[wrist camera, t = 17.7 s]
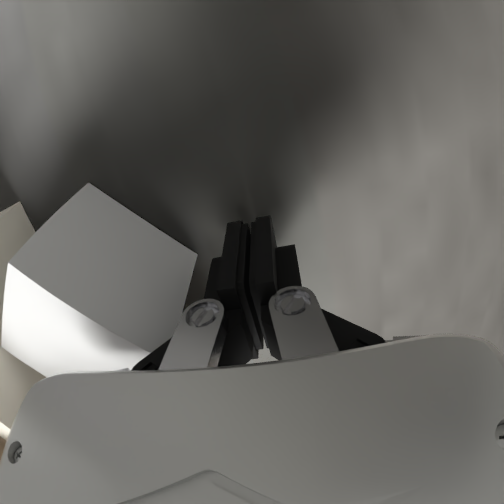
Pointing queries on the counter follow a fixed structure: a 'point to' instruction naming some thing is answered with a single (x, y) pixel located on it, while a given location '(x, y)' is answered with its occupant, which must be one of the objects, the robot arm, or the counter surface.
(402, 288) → the counter surface
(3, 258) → the white block
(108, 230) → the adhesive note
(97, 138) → the counter surface
